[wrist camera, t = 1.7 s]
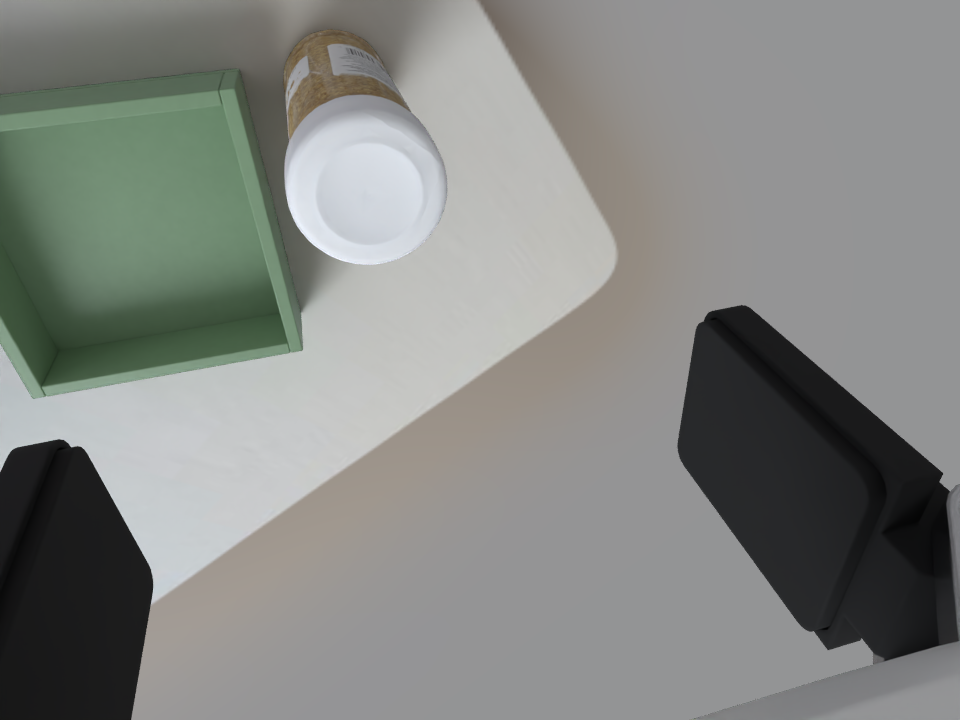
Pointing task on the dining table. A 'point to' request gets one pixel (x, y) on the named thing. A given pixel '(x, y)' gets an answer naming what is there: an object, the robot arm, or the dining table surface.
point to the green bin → (137, 234)
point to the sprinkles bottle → (357, 154)
